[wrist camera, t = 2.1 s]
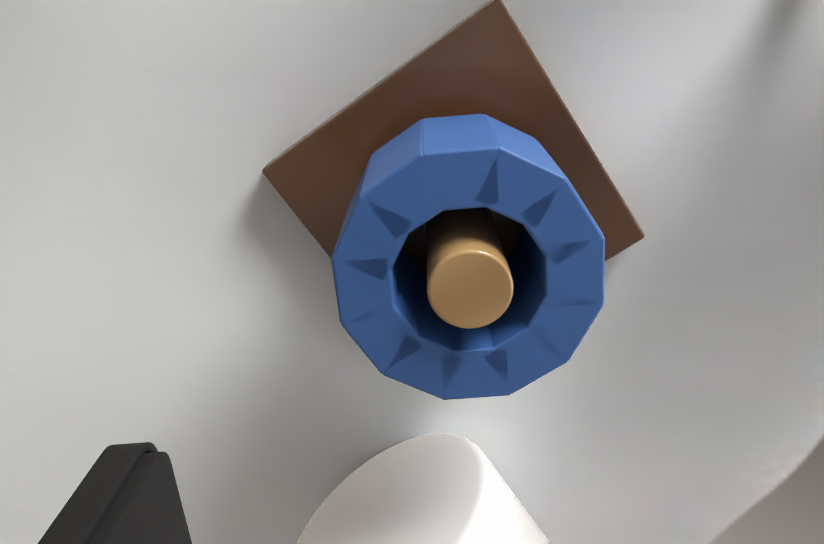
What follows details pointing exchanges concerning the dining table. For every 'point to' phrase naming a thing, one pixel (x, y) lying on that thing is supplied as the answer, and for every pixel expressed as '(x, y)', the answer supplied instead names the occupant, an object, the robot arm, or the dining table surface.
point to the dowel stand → (439, 97)
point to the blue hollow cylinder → (529, 261)
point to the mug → (423, 499)
